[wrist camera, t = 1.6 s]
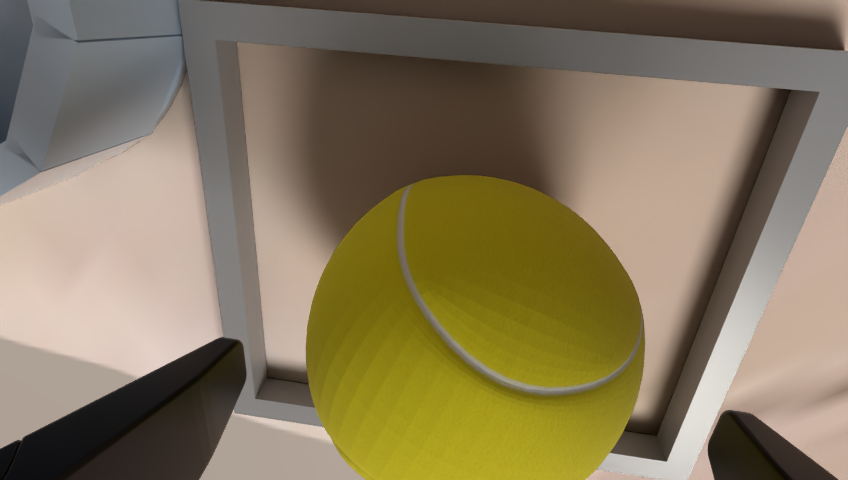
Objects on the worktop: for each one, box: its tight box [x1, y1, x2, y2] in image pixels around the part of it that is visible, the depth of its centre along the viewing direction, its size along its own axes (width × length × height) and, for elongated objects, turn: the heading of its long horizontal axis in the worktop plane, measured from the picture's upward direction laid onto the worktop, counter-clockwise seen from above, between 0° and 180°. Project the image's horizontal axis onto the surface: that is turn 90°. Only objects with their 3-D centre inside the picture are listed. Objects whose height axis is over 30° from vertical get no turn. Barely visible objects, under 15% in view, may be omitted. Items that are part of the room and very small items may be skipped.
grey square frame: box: [178, 0, 848, 480], centre depth 13 cm, size 15×13×1 cm
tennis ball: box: [306, 175, 645, 480], centre depth 11 cm, size 7×7×7 cm
